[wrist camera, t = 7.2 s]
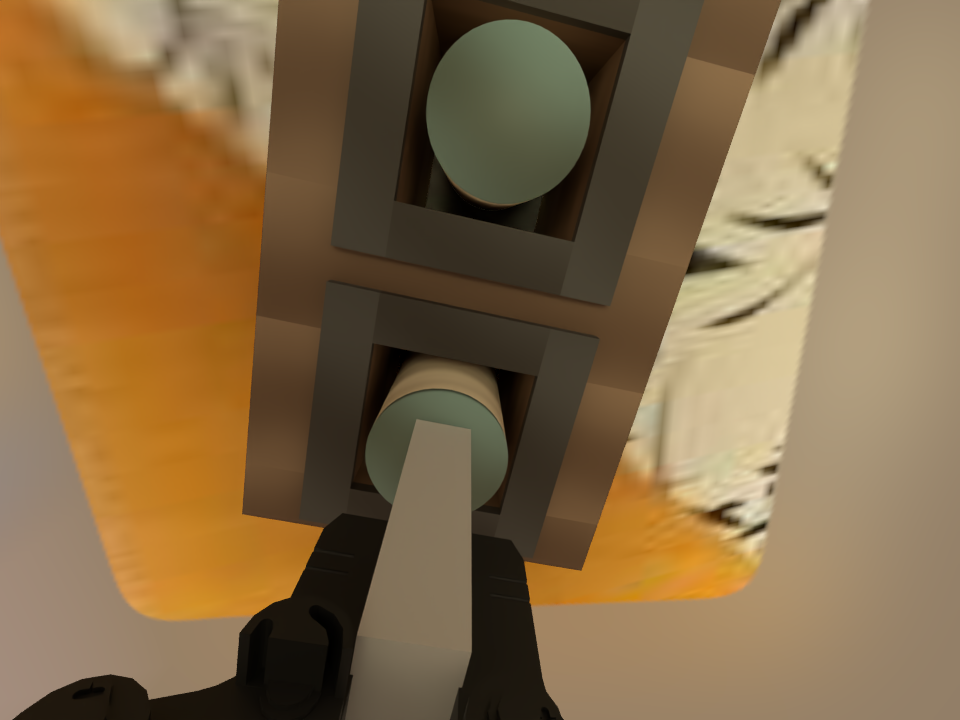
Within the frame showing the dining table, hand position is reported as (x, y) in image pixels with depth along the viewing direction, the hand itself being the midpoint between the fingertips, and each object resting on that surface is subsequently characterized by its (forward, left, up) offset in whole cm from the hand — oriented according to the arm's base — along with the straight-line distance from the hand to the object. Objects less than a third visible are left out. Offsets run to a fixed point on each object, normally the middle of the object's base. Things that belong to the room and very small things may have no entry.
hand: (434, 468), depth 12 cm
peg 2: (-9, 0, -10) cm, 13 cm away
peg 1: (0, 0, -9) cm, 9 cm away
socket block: (-5, 0, -10) cm, 11 cm away
